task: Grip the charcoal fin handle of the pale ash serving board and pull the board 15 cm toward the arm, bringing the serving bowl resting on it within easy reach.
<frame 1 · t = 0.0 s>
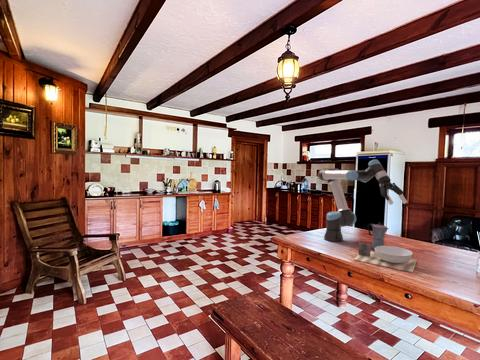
hand: (398, 203, 174), 36 cm above the table, tool tilted 35°, fingers open, 13 cm apart
moka pot: (377, 248, 190), on the table
serving board: (385, 253, 164), point 4 cm above the table, slide at 0.2 cm, touching serving bowl
serving bowl: (392, 261, 162), point 1 cm above the table, touching serving board
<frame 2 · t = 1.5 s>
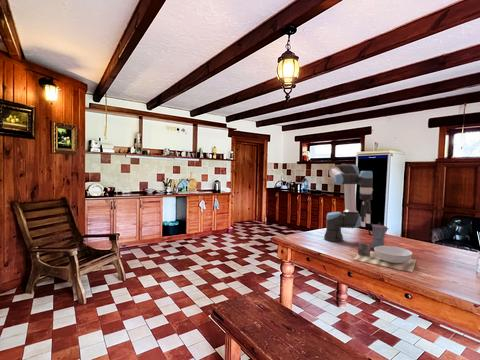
hand: (365, 224, 172), 22 cm above the table, tool pointing down, fingers open, 13 cm apart
nothing on the table moved.
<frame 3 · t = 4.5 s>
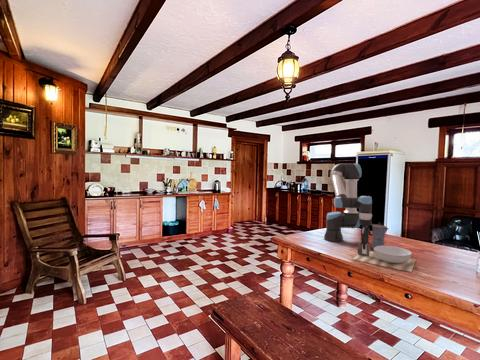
hand: (364, 253, 172), 2 cm above the table, tool pointing down, fingers closed on serving board, 2 cm apart
serving board: (384, 253, 165), point 4 cm above the table, slide at 0.8 cm, touching gripper, serving bowl
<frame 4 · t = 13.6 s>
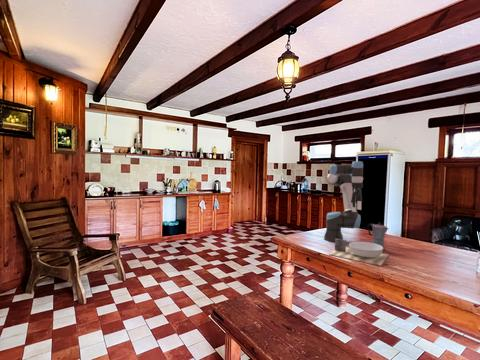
hand: (356, 210, 189), 29 cm above the table, tool pointing down, fingers open, 13 cm apart
serving board: (358, 248, 175), point 4 cm above the table, slide at 16.4 cm, touching serving bowl
serving bowl: (365, 255, 172), resting on serving board
everything else where it was.
at the end: serving board slide at 16.4 cm; serving bowl inside the target area (1.6 cm from its centre), point 0.5 cm above the table; serving bowl touching serving board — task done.
